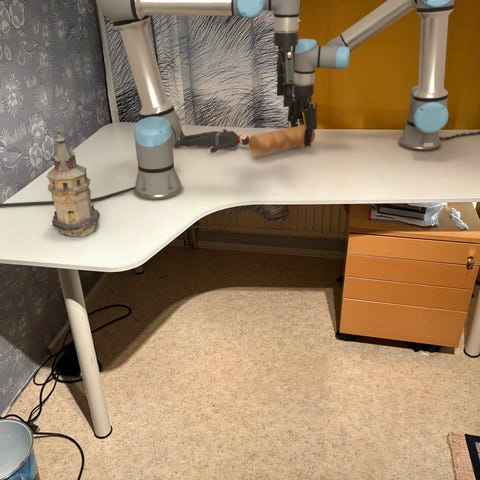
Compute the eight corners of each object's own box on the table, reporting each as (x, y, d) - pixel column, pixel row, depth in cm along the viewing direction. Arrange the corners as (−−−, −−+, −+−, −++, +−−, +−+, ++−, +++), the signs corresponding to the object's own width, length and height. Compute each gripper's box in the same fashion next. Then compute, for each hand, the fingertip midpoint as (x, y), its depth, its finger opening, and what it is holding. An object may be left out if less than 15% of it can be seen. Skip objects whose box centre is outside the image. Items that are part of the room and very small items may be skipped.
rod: (259, 158, 196) (260, 138, 193) (248, 152, 202) (248, 133, 198) (314, 145, 209) (315, 126, 205) (302, 139, 214) (303, 121, 210)
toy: (185, 122, 227) (254, 122, 220) (186, 136, 230) (255, 137, 224) (165, 142, 205) (242, 143, 198) (167, 157, 208) (243, 159, 201)
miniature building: (80, 214, 164) (63, 117, 149) (111, 225, 157) (96, 125, 142) (44, 231, 154) (22, 130, 140) (75, 244, 147) (55, 139, 133)
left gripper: (306, 37, 153) (303, 111, 164) (291, 25, 175) (289, 90, 185) (280, 38, 153) (278, 112, 163) (268, 26, 174) (267, 91, 185)
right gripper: (329, 88, 192) (325, 148, 203) (294, 77, 207) (292, 134, 218) (313, 90, 189) (309, 152, 200) (279, 79, 204) (277, 137, 215)
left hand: (284, 100), depth 174 cm, fingers open, 13 cm apart
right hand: (300, 143), depth 209 cm, fingers closed on rod, 7 cm apart
